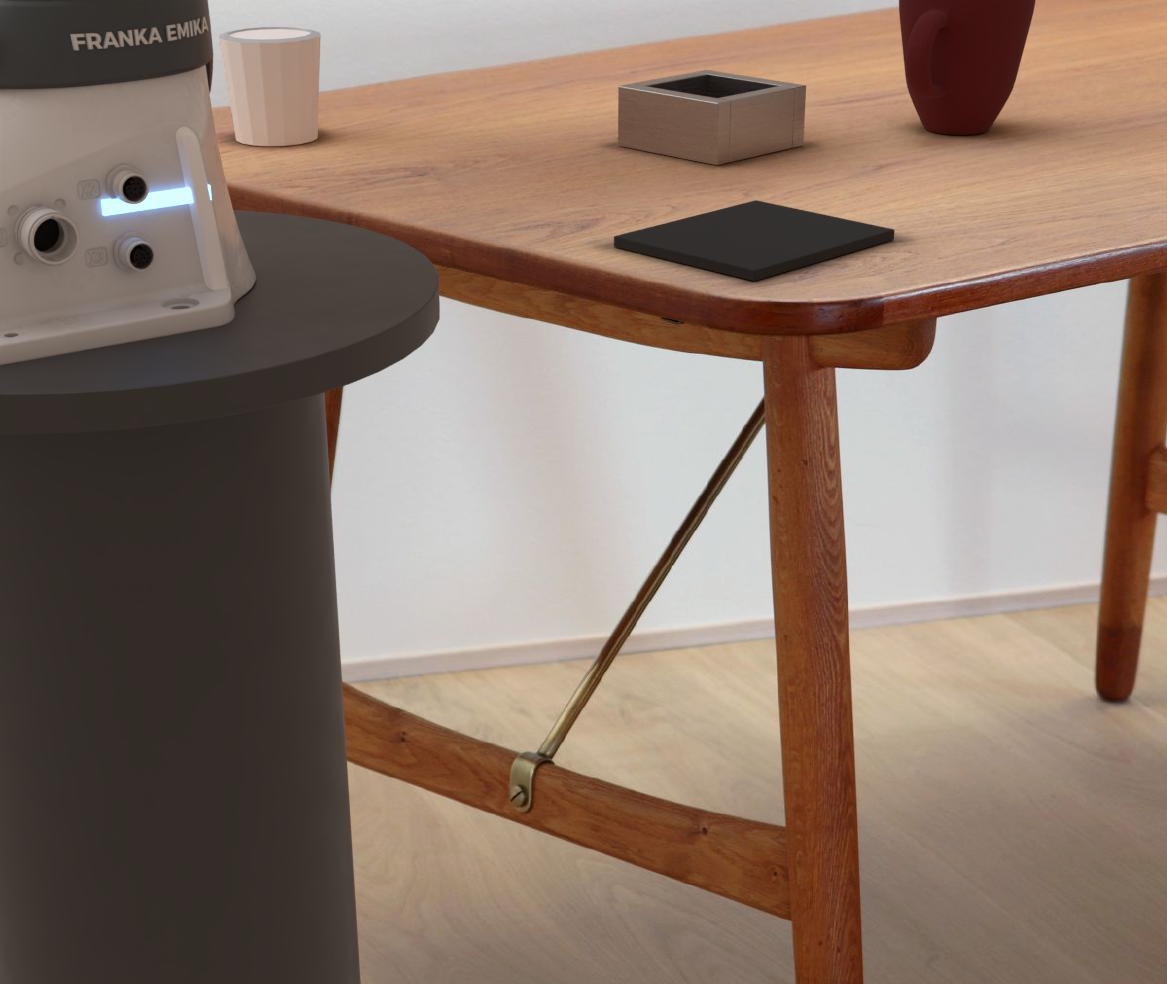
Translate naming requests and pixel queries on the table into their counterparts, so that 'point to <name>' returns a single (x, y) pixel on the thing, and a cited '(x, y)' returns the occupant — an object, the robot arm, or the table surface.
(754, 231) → the mat
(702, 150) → the box
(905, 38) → the mug
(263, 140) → the beige cup
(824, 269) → the table surface
